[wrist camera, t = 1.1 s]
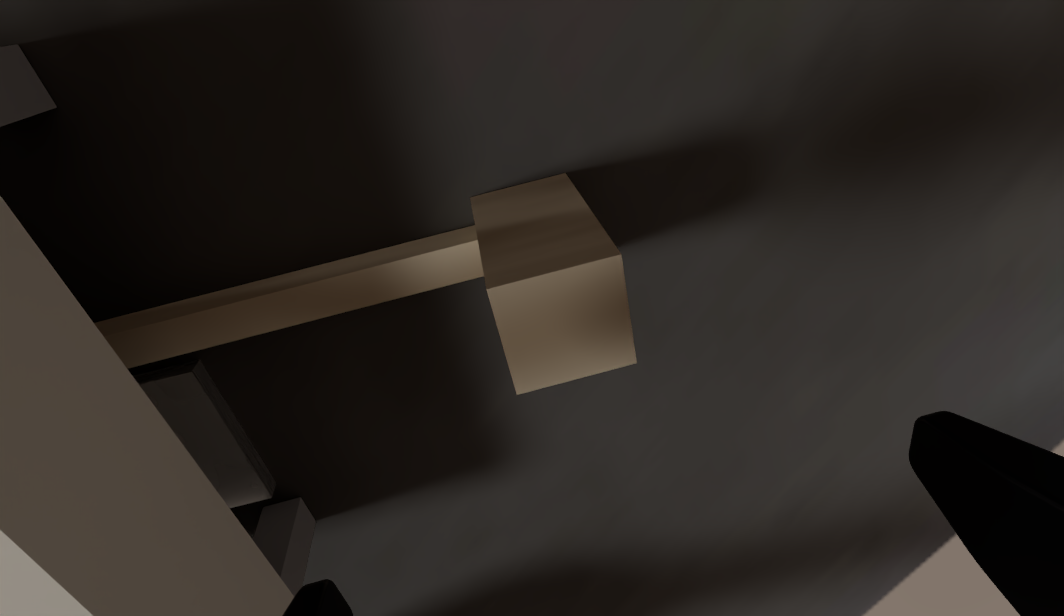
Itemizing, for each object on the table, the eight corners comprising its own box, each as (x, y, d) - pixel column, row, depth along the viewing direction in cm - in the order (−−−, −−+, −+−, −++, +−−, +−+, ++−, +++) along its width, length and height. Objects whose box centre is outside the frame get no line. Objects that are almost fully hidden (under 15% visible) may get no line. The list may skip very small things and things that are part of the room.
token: (279, 474, 22) (271, 497, 21) (126, 511, 22) (111, 537, 21) (205, 350, 19) (191, 371, 18) (27, 393, 19) (3, 417, 18)
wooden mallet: (607, 404, 22) (660, 531, 17) (77, 546, 22) (-31, 720, 17) (565, 173, 17) (621, 254, 12) (-119, 348, 17) (-358, 508, 12)
